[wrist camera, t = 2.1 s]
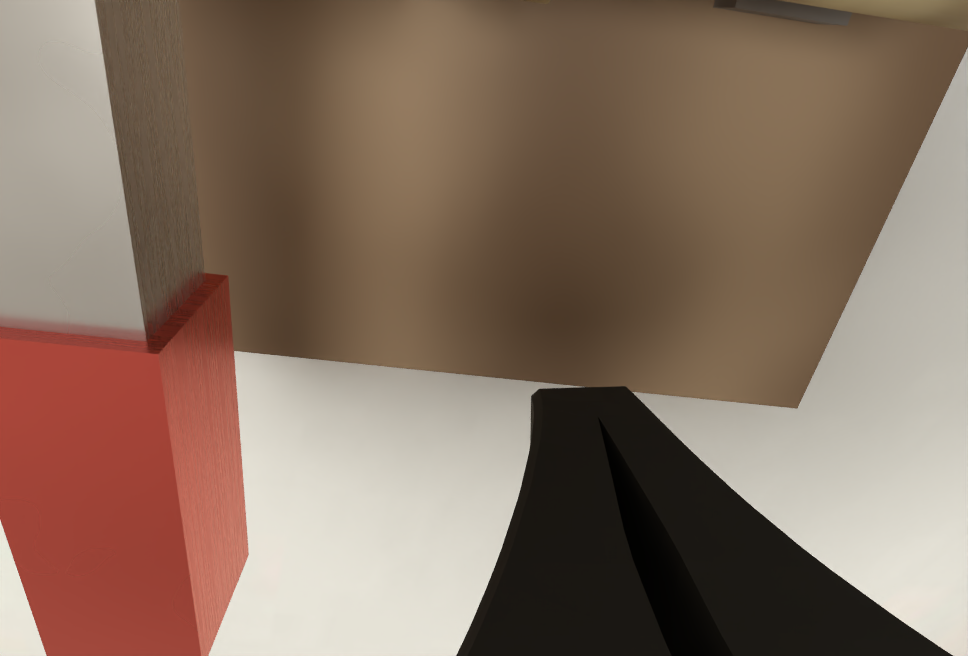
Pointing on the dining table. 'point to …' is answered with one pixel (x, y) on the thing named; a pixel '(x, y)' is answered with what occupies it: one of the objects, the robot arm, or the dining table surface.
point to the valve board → (558, 179)
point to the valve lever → (112, 338)
